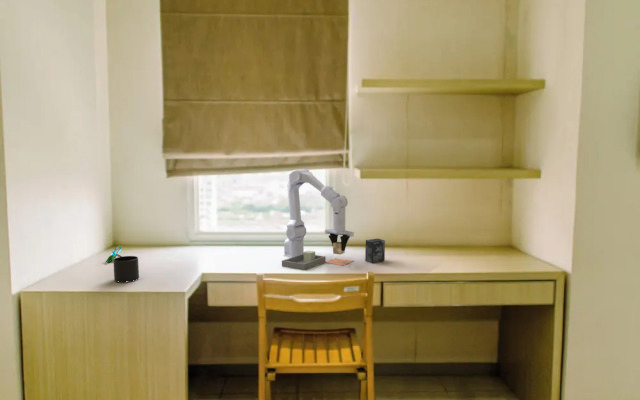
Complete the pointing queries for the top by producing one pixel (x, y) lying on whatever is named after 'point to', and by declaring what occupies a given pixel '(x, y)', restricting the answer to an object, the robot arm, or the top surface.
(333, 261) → the mat
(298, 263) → the tray
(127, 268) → the mug
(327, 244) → the top surface
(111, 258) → the stick construction toy
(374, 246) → the box
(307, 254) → the plain block
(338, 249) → the label block
